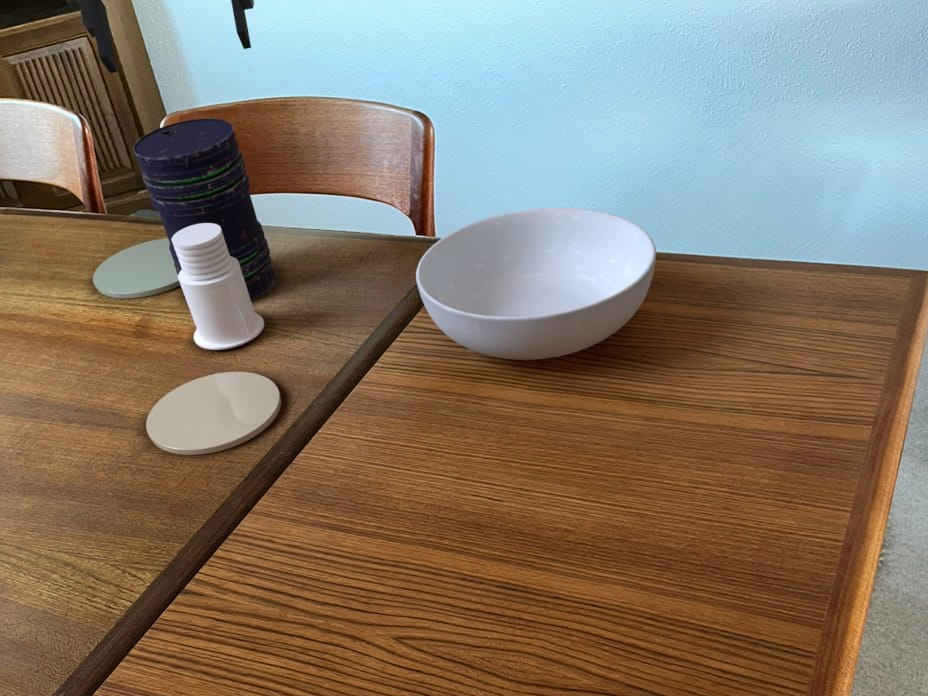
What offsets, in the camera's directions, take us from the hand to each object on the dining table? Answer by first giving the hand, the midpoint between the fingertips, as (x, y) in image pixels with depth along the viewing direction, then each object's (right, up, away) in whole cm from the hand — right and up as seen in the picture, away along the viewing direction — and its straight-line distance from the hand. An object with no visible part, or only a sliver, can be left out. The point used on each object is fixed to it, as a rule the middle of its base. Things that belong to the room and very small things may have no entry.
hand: (176, 53), depth 95 cm
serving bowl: (+35, -29, -6) cm, 46 cm away
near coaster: (+6, -38, -9) cm, 39 cm away
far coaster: (-7, -16, +13) cm, 22 cm away
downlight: (+5, -28, +1) cm, 28 cm away
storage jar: (+3, -20, +8) cm, 22 cm away
